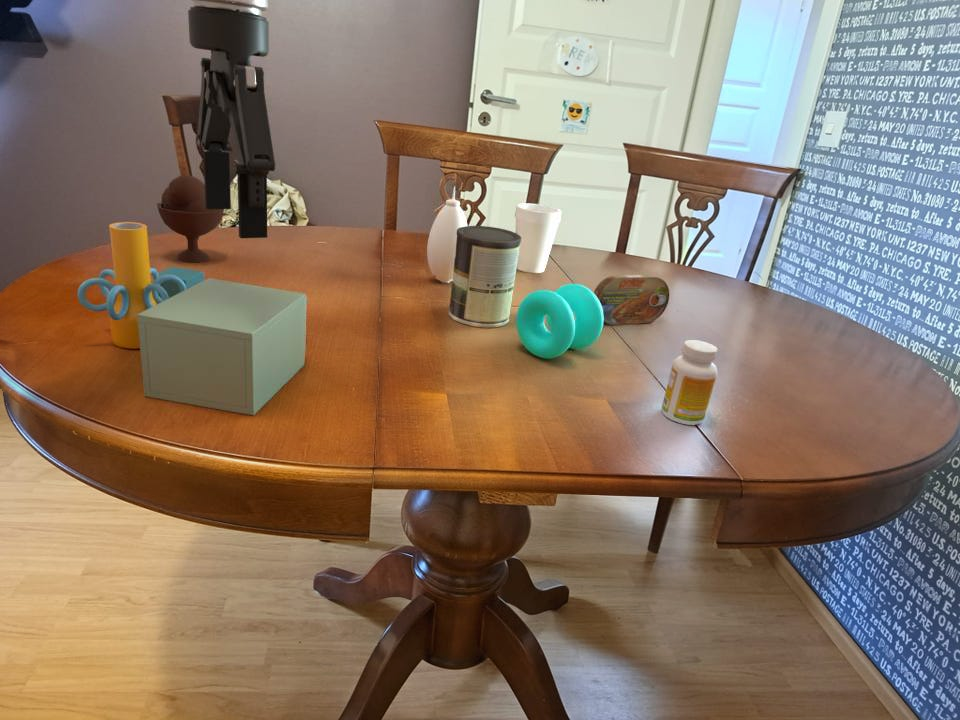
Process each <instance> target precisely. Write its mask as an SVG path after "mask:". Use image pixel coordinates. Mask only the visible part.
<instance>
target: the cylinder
mask: <svg viewBox="0 0 960 720" xmlns="http://www.w3.org/2000/svg"><path fill="white" fill-rule="evenodd" d="M108 226H109V227H108V228H109V237H110V238H109V239H110V249H111V257H112V266H113V269H110V268H105V269H103V270H101V272H99V275H98V277H93V278H88V279H86V280H85V281H83V282H82V283H81V284H80V285H79V287H78V289H77V294H76V295H77V299H78V301H79V304H81V306H82V307H83V308H85V309H87V310H89V311H93V312H104V311H106V312H107V314H108V316H109V325H110V326H109V327H110V335H111V341H112V343H113V345H115V346H117V347H119V348H123V349H130V350H132V349H133V350H134V349H136V350H137V349H140V339H139V328H138V322H139V321H138V318H137V314H139V313H141V312H143V311H145V310H147V309H149V308H151V307H153V306H155V305H157V304H159V303H161V302H163V301H165V300H167V299H169V296H168V294H167V292H166V291H165V289H164V288H163V287H161V286H160V284H161V283H162V282H164V281H173V282H175V283H177V284H178V286H179V287H180V293H181V292H183V291H185V290H186V285H185V283H184V282H183V281H182V280H181V279H180V278H179V277H177V276H174V275H163V276H160V277H159V274H158V273H159V272H158V270H157V269H156V268H154V267H151V263H150V251H149V239H148V238H149V237H148V226H147V225H146V224H144V223H141V222H134V221H133V222H132V221H121V222H113V223H110V224H109V225H108ZM107 276H110V278H112V279H113V280H114V284H113V283H112V282H111V281H110V280H107V279H106V278H107ZM94 285H98V288H99V290H100V292H101V294H102V295H103V297H104V298H105V299H106V302H105V303H102V304H93V303H92V302H90V301H88V299H87V298H86V291H87V290H88V288H89V287H91V286H94ZM158 293H159V294H160V295H161V297H162V299H161V298H160V297H159V295H158Z"/></svg>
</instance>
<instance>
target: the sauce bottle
mask: <svg viewBox="0 0 960 720" xmlns="http://www.w3.org/2000/svg"><path fill="white" fill-rule="evenodd" d="M460 205H461V202H460V201H459V200H458V199H456V185H453V189H452V196H451V198H449V199H447V200H445V205H444V206H442V208H441V209H440V210H439V212H438V214H437V215H436V217H435V219H434V221H433V223H432V225H431V228H430V231H429V235H428V239H427V245H426V246H427V247H426V257H427V258H426V259H427V264H428V268H429V270H430V273H431V274H432V275H433V276H435V279H436V280H438V281H440V282H441V283H444V284H449V283H450V282H452V280H453V270H454V260H455V251H456V241H457V229H458V228H460V227H464V226H468V222H467V218H466V216H465V213H464V211H463V208H462V207H461V206H460Z"/></svg>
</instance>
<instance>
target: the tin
mask: <svg viewBox="0 0 960 720" xmlns="http://www.w3.org/2000/svg"><path fill="white" fill-rule="evenodd" d="M593 293H594V294H595V295H596V297H597V298H598V300H599V301H600V304H601V306H602V310H603V316H604V322H603V323H605V324H608V325H609V326H622V325H637V324H638V325H639V324H650V323H653V322H654V321H656V320H658V319H659V318H660V317H661V316H662V315H663V314H664V312H665V311H666V309H667V307H668V305H669V301H670V289H669V285H668V284H667V283H666V281H665V280H664V279H662V278H661V277H659V276H654V275H650V274H635V275H611V276H608V277H605V278H604V279H603V280H601V281H600V282H598V284H597V285H596V287H595V289H594V291H593Z"/></svg>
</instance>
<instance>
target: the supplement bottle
mask: <svg viewBox="0 0 960 720" xmlns="http://www.w3.org/2000/svg"><path fill="white" fill-rule="evenodd" d="M682 345H683V346H682V349H681V354H682V355H679V356H677V357H676V358H675V359H674V360H673V362H672V365H671V369H670V372H669V377H668V381H667V385H666V389H665V392H664V396H663V401H662V404H661V412H662V414H663V416H664V417H666V418H667V419H669V420H671V421H672V422H675V423H679V424H683V425H687V426H696V425H699V424H701V423H703V422H704V420H705V418H706V414H707V412H708V408H709V404H710V400H711V397H712V394H713V390H714V386H715V383H716V379H717V375H718V367H717V365H715V364H714V361H715V360H716V357H717V353H718V348H717V347H716V346H715V345H713V344H711V343H709V342H706V341H702V340H697V339H687V340H685V341H684V342H683V344H682Z"/></svg>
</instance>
